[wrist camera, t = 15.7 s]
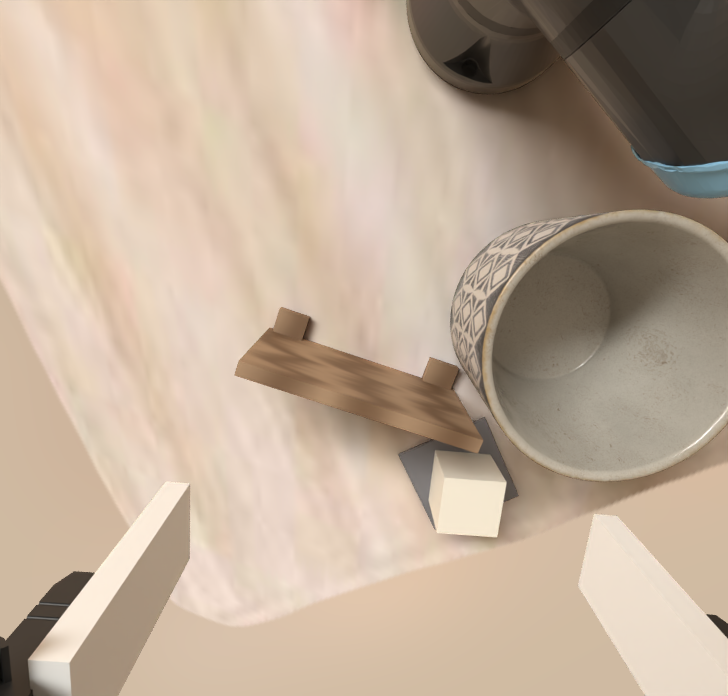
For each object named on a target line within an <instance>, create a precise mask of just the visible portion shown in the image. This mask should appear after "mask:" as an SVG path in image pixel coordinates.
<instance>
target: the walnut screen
mask: <svg viewBox="0 0 728 696" xmlns="http://www.w3.org/2000/svg"><path fill="white" fill-rule="evenodd" d="M309 318H310V317H309V316H307V315H304V314H301V313H298V312H295V311H292V310H289V309H286V308H283V307H281V308H280V309H279V313H278V316H277V319H276V322H275V326H274V329H272V328H269V329H268V330H267V331H266V332H265V333H264V334H263V335H262V336H261V338H260V339H259V340H258V341H257V342H256V343H255V344H254V345H253V346H252V347H251V348H250V349H249V350H248V351H247V353H246V354H245V355H244V356H243V357H242V358H241V359H240V360H239V362H238V365H237V368H236V372H235V376H238V377H241V378H244V379H247V380H250V381H254V382H257V383H260V384H263V385H266V386H269V387H272V388H275V389H278V390H282V391H285V392H288V393H291V394H294V395H297V396H300V397H303V398H306V399H309V400H313V401H316V402H319V403H322V404H325V405H328V406H331V407H334V408H337V409H340V410H344V411H347V412H350V413H353V414H356V415H359V416H362V417H365V418H368V419H372V420H375V421H378V422H381V423H384V424H387V425H390V426H393V427H396V428H399V429H403V430H406V431H409V432H412V433H415V434H418V435H421V436H424V437H427V438H430V439H434V440H437V441H440V442H443V443H446V444H449V445H452V446H455V447H458V448H462V449H465V450H468V451H471V452H474V453H477V454H478V452H479V450H480V447H481V445H482V443H483V439H482V437H481V435H480V434H479V432H478V430H477V429H476V427H475V425H474V423H473V422H472V420H471V418H470V417H469V415H468V413H467V412H466V410H465V408H464V406H463V405H462V403H461V401H460V400H459V398H458V396H457V395H456V393H455V391H454V389H453V388H451V387H452V385H453V382H454V380H455V377H456V375H457V372H458V370H459V368H458V367H457V366H455V365H452V364H449V363H446V362H443V361H440V360H437V359H434V358H431V357H430V358H429V361H428V364H427V366H426V369H425V371H424V374H423V376H422V378H420V377H417V376H414V375H411V374H408V373H405V372H402V371H399V370H396V369H393V368H390V367H387V366H384V365H381V364H378V363H375V362H372V361H369V360H366V359H363V358H360V357H357V356H354V355H351V354H348V353H345V352H342V351H339V350H336V349H333V348H330V347H327V346H324V345H321V344H318V343H315V342H312V341H309V340H306V339H303V336H304V333H305V330H306V327H307V324H308V321H309Z"/></svg>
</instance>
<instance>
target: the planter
mask: <svg viewBox="0 0 728 696" xmlns="http://www.w3.org/2000/svg"><path fill="white" fill-rule="evenodd" d="M450 327H451V337H452V342H453V346H454V349H455V352H456V355H457V357H458V359H459V362H460V364H461V365H462V367H463V369H464V370H465V372H466V374H467V375H468V377H469V378H470V380H471V382H472V383H473V385H474V386H475V388H476V389H477V391H478V393H479V394H480V396H481V397H482V399H483V401H484V402H485V404H486V405H487V407H488V409H489V410H490V412H491V413H492V415H493V416H494V418H495V420H496V421H497V423H498V424H499V426H500V428H501V429H502V430H503V432H504V433H505V435H506V436H507V437H508V438H509V440H510V441H511V442H512V443H513V444H514V445H515V446H516V447H517V448H518V449H519V450H520V451H521V452H522V453H524V454H525V455H526V456H527V457H529V458H530V459H531V460H533V461H534V462H536V463H538V464H539V465H541V466H543V467H545V468H547V469H549V470H551V471H553V472H556V473H558V474H561V475H564V476H567V477H571V478H575V479H580V480H586V481H596V482H614V481H624V480H631V479H636V478H641V477H644V476H648V475H651V474H654V473H657V472H660V471H663V470H665V469H667V468H669V467H672V466H674V465H676V464H678V463H679V462H681V461H683V460H685V459H686V458H688V457H690V456H691V455H693V454H694V453H696V452H697V451H699V450H700V449H701V448H702V447H704V446H705V445H706V444H707V443H709V442H710V441H711V440H712V439H713V438H714V437H715V436H716V435H717V434H718V433H719V432H720V431H721V430H722V429H723V428H724V427H725V426H726V425H727V423H728V242H726V241H725V240H724V239H723V238H722V237H721V236H719V235H718V234H717V233H715V232H714V231H712V230H711V229H709V228H708V227H706V226H704V225H702V224H701V223H699V222H696V221H694V220H692V219H690V218H687V217H684V216H681V215H678V214H674V213H670V212H664V211H658V210H647V209H634V210H622V211H614V212H607V213H599V214H591V215H583V216H575V217H568V218H560V219H552V220H544V221H538V222H533V223H529V224H525V225H522V226H519V227H517V228H514V229H512V230H510V231H508V232H506V233H504V234H502V235H501V236H499V237H497V238H496V239H495V240H493V241H492V242H491V243H489V244H488V245H487V246H486V247H485V248H484V249H483V250H482V251H480V252H479V254H478V255H477V256H476V257H475V258H474V259H473V260H472V262H471V263H470V264H469V266H468V267H467V269H466V270H465V272H464V274H463V276H462V277H461V279H460V282H459V284H458V286H457V289H456V292H455V295H454V298H453V303H452V308H451V318H450Z"/></svg>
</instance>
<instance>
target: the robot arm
mask: <svg viewBox="0 0 728 696" xmlns="http://www.w3.org/2000/svg"><path fill="white" fill-rule="evenodd" d="M406 5H407V16H408V22H409V27H410V30H411V34H412V37H413V40H414V42H415V44H416V47H417V48H418V50H419V52H420V54H421V56H422V57H423V59H424V60H425V61H426V63H427V64H428V65H429V66H430V68H431V69H432V70H433V71H434V72H435V73H436V74H437V75H439V76H440V77H441V78H442V79H444V80H445V81H447V82H448V83H450V84H451V85H453V86H455V87H457V88H460V89H462V90H466V91H469V92H473V93H480V94H496V93H502V92H507V91H511V90H514V89H516V88H519V87H521V86H523V85H525V84H527V83H529V82H530V81H532V80H534V79H535V78H536V77H538V76H539V75H540V74H541V73H543V72H544V71H545V70H546V69H547V68H548V67H550V66H551V65H552V64H553V63H554V62H555V61H556V60H557V59H558V58H559V57H560V56H561V57H562V58H563V59H564V61H565V63H566V64H567V65H568V66H569V68H570V69H571V70H572V71H573V73H574V74H575V75H576V76H577V78H578V79H579V80H580V81H581V83H582V84H583V85H584V86H585V88H586V89H587V90H588V91H589V93H590V94H591V95H592V96H593V98H594V99H595V100H596V101H597V103H598V104H599V105H600V106H601V108H602V109H603V110H604V111H605V113H606V114H607V115H608V116H609V118H610V119H611V120H612V121H613V123H614V124H615V125H616V126H617V128H618V129H619V130H620V131H621V133H622V134H623V135H624V137H625V138H626V139H627V140H628V142H629V143H630V144H631V150H632V152H633V154H634V155H635V157H636V158H637V159H638V160H639V161H642V163H643V164H644V165H646V166H649V167H650V168H651V169H652V170H653V171H654V173H655V174H656V175H657V176H658V177H659V178H660V179H661V180H662V182H663V183H664V184H665V185H666V186H667V187H668V188H670V189H672V190H673V191H675V192H677V193H679V194H681V195H684V196H687V197H694V198H721V197H728V0H406ZM189 559H190V483H178V482H165V483H164V485H163V486H162V487H161V489H160V490H159V491H158V492H157V494H156V495H155V496H154V498H153V499H152V500H151V501H150V503H149V504H148V505H147V507H146V508H145V509H144V511H143V512H142V513H141V514H140V516H139V517H138V518H137V520H136V521H135V522H134V523H133V525H132V526H131V527H130V529H129V530H128V531H127V533H126V534H125V535H124V536H123V538H122V539H121V540H120V542H119V543H118V544H117V546H116V547H115V548H114V549H113V551H112V552H111V553H110V554H109V556H108V557H107V558H106V560H105V561H104V562H103V563H102V565H101V566H100V567H99V569H98V570H97V571H96V573H90V572H73V573H71V574H70V575H68V576H67V577H65V578H64V579H62V580H61V581H59V582H58V583H56V584H55V585H53V587H52V588H51V589H50V590H49V591H48V593H46V595H45V596H44V597H43V598H42V599H41V600H40V602H39V605H36V606H35V607H34V609H33V610H32V611H31V612H30V613H29V614H28V616H27V619H24V620H23V621H22V623H21V624H20V625H19V626H18V627H17V628H16V629H15V631H14V632H13V633H12V634H11V635H10V636H9V638H8V639H7V640H6V641H5V639H4V638H2V637H0V696H118V695H119V693H120V691H121V689H122V687H123V685H124V683H125V682H126V680H127V677H128V676H129V674H130V671H131V670H132V668H133V666H134V664H135V662H136V660H137V658H138V656H139V655H140V653H141V651H142V649H143V647H144V645H145V643H146V641H147V639H148V637H149V635H150V634H151V632H152V630H153V628H154V626H155V624H156V622H157V620H158V618H159V616H160V614H161V612H162V610H163V609H164V606H165V605H166V603H167V601H168V599H169V597H170V595H171V593H172V591H173V589H174V587H175V586H176V584H177V582H178V580H179V578H180V576H181V574H182V572H183V570H184V568H185V566H186V564H187V562H188V561H189ZM578 587H579V589H580V590H581V592H582V593H583V595H584V596H585V598H586V600H587V602H588V603H589V605H590V607H591V608H592V610H593V611H594V613H595V615H596V616H597V618H598V620H599V621H600V623H601V625H602V626H603V628H604V629H605V631H606V633H607V634H608V636H609V638H610V639H611V641H612V643H613V644H614V646H615V647H616V649H617V651H618V652H619V654H620V656H621V657H622V659H623V660H624V662H625V664H626V665H627V667H628V669H629V670H630V672H631V673H632V675H633V677H634V678H635V680H636V682H637V683H638V685H639V687H640V688H641V690H642V692H643V693H644V695H645V696H728V624H727V623H726V622H725V621H723V620H722V619H720V618H719V617H718V616H716V615H708V614H705V613H704V612H703V611H702V610H701V609H700V607H699V606H698V605H697V604H696V603H695V602H694V601H693V600H692V599H691V597H690V596H689V595H688V594H687V593H686V592H685V591H684V590H683V588H682V587H681V586H680V585H679V584H678V583H677V582H676V581H675V580H674V579H673V577H672V576H671V575H670V574H669V573H668V572H667V571H666V570H665V569H664V567H663V566H662V565H661V564H660V563H659V562H658V561H657V560H656V558H655V557H654V556H653V555H652V554H651V553H650V552H649V551H648V550H647V549H646V547H644V545H643V544H642V543H641V542H640V541H639V540H638V538H637V537H636V536H635V535H634V534H633V533H632V532H631V531H630V530H629V529H628V528H627V526H626V525H625V524H624V523H623V522H622V521H621V520H620V519H619V517H618V516H615V515H600V514H594V516H593V521H592V525H591V530H590V534H589V539H588V543H587V548H586V552H585V557H584V561H583V566H582V570H581V575H580V579H579V584H578Z"/></svg>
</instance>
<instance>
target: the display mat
mask: <svg viewBox="0 0 728 696" xmlns="http://www.w3.org/2000/svg"><path fill="white" fill-rule="evenodd" d="M473 423H474V425H475V427H476V429H477V430H478V432H479V434H480V435H481V437H482V439H483V443H482V445H481V447H480V450H479V452H478V453H479V454H490V455H491V456H492V458H493V460H494V461H495V463H496V465H497V467H498V468H499V470H500V472H501V474H502V475H503V477H504V479H505V480H506V482H507V483H506V489H505V495H504V501H503V502H505V501H507V500H510V499H512V498H515V497H517V496H518V493H517V491H516V489H515V487H514V484H513V482H512V480H511V477H510V475H509V473H508V470H507V468H506V466H505V463H504V461H503V459H502V456H501V454H500V452H499V450H498V447H497V445H496V443H495V440H494V438H493V436H492V433H491V431H490V429H489V426H488V424H487V422H486V419H485V418H482V419H479V420H477V421H474V422H473ZM435 450H440V451H453V452H466V453H474V452H471V451H468V450H465V449H462V448H458V447H455V446H452V445H449V444H446V443H443V442H440V441H437V440H434V439H432V440H430V441H428V442H425V443H423V444H421V445H418V446H416V447H414V448H411V449H409V450H407V451H404V452H402V453H400V454H399V457H400V459H401V461H402V463H403V465H404V467H405V470H406V472H407V474H408V476H409V478H410V480H411V482H412V484H413V486H414V488H415V490H416V492H417V494H418V496H419V498H420V500H421V502H422V504H423V506H424V509H425V511H426V513H427V515H428V517H429V519H430V521H431V523H432V525H433V527H434V529H435V530H436V528H435V524H434V520H433V516H432V512H431V508H430V504H429V493H430V485H431V477H432V470H433V462H434V455H435Z"/></svg>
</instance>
